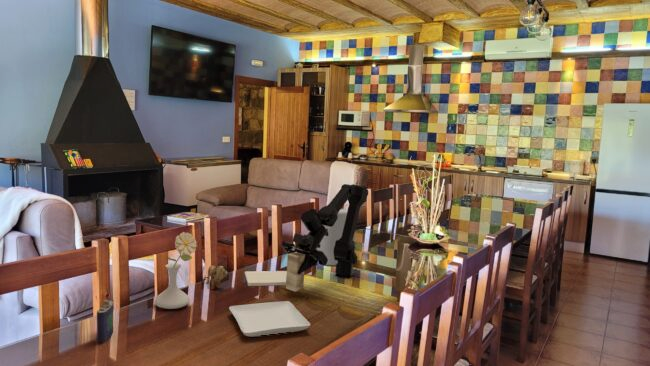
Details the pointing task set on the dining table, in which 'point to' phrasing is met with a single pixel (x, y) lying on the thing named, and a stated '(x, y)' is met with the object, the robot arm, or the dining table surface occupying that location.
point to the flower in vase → (173, 294)
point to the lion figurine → (216, 275)
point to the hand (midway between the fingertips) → (293, 272)
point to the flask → (105, 322)
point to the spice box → (294, 271)
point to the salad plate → (268, 318)
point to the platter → (265, 278)
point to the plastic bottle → (333, 237)
